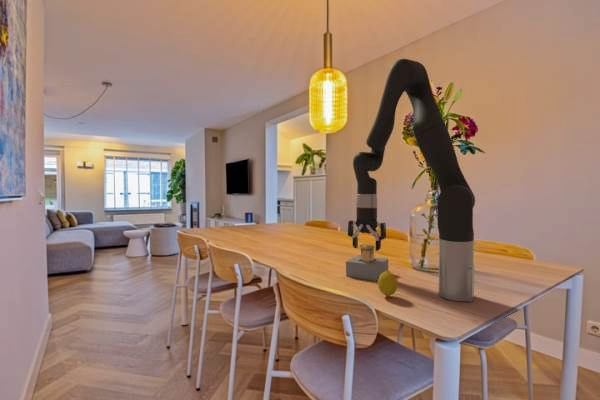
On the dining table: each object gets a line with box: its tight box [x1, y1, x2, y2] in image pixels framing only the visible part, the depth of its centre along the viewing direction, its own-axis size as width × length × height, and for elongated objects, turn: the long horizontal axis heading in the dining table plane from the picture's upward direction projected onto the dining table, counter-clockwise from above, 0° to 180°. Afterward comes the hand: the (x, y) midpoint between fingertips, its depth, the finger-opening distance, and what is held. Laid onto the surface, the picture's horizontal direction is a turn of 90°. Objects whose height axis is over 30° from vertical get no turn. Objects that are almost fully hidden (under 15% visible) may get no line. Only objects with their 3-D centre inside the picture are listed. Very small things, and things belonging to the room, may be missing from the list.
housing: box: [345, 254, 389, 282], centre depth 117 cm, size 12×12×6 cm
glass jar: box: [359, 243, 376, 263], centre depth 117 cm, size 5×5×11 cm
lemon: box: [377, 270, 398, 298], centre depth 93 cm, size 6×6×8 cm
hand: (366, 249), depth 117 cm, fingers open, 8 cm apart
